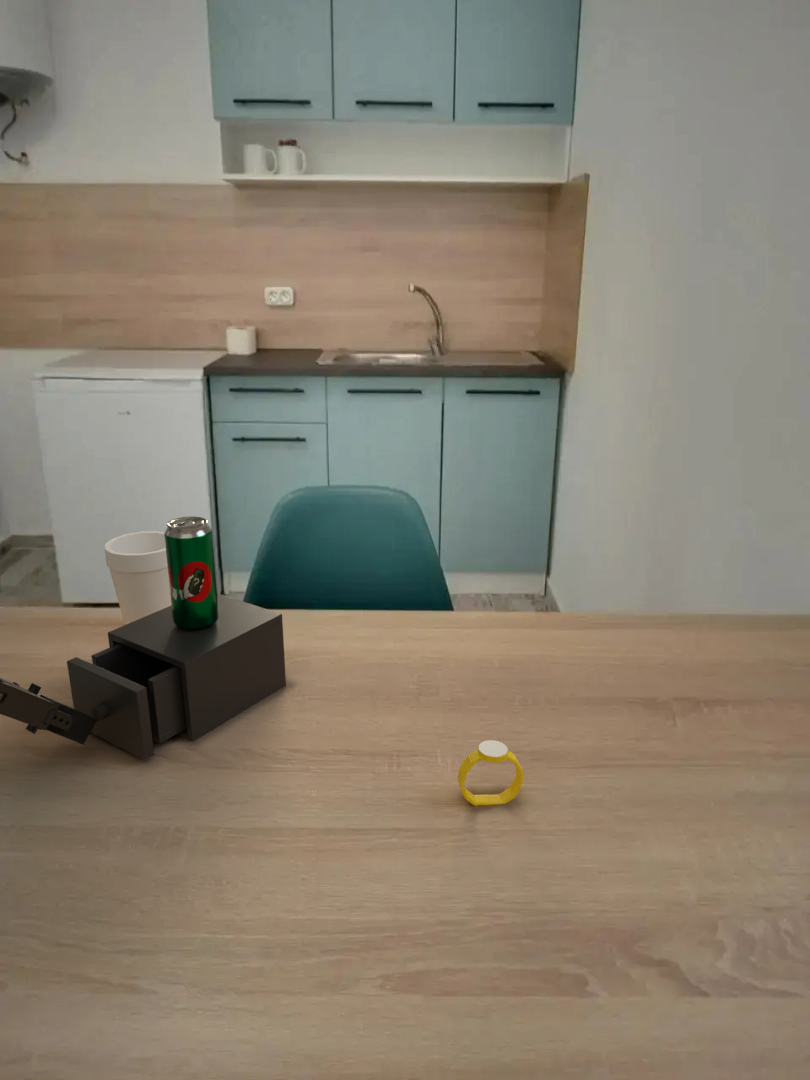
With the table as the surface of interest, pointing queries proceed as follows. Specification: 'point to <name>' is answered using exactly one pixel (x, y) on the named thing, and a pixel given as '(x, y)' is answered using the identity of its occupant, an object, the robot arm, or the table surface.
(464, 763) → the watch
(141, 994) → the table surface
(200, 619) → the soda can
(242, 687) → the cabinet
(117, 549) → the foam cup
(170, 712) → the drawer
